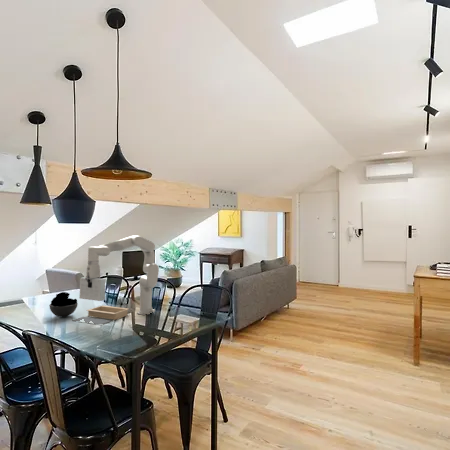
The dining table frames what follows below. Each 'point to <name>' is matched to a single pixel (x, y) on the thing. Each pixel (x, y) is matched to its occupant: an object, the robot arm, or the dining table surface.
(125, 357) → the dining table surface
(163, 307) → the dining table surface
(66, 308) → the coal bowl
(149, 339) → the dining table surface
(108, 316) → the wooden frame
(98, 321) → the mat
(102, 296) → the skincare box
